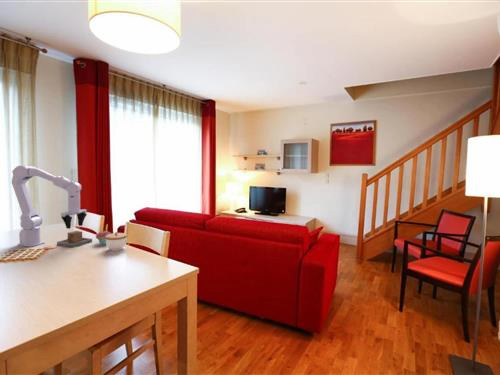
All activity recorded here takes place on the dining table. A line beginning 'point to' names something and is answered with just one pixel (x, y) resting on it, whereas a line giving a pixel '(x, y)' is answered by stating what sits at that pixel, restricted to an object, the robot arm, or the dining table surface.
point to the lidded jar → (116, 241)
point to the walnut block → (74, 237)
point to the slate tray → (65, 243)
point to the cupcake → (102, 236)
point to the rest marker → (50, 247)
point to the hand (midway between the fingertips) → (74, 226)
